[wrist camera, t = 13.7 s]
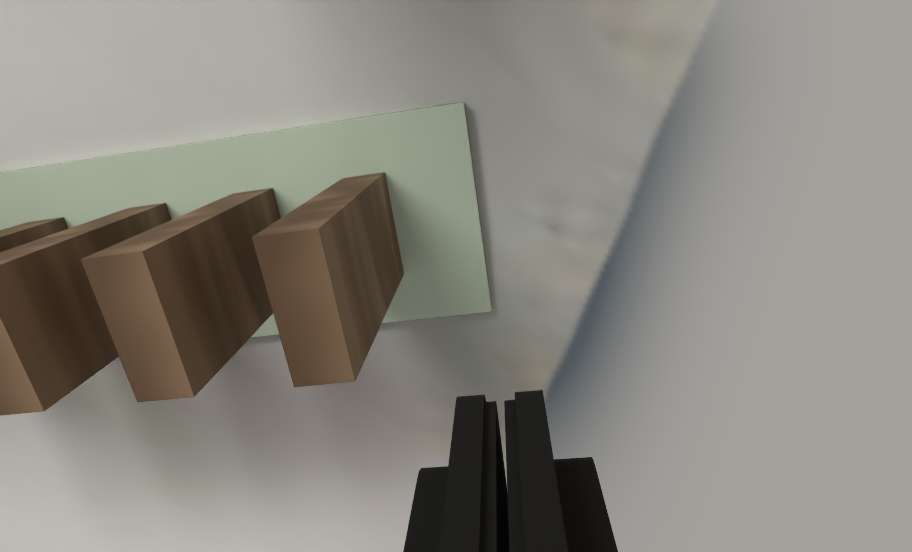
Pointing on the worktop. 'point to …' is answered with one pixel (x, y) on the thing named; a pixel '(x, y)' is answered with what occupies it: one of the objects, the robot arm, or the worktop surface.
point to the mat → (300, 192)
